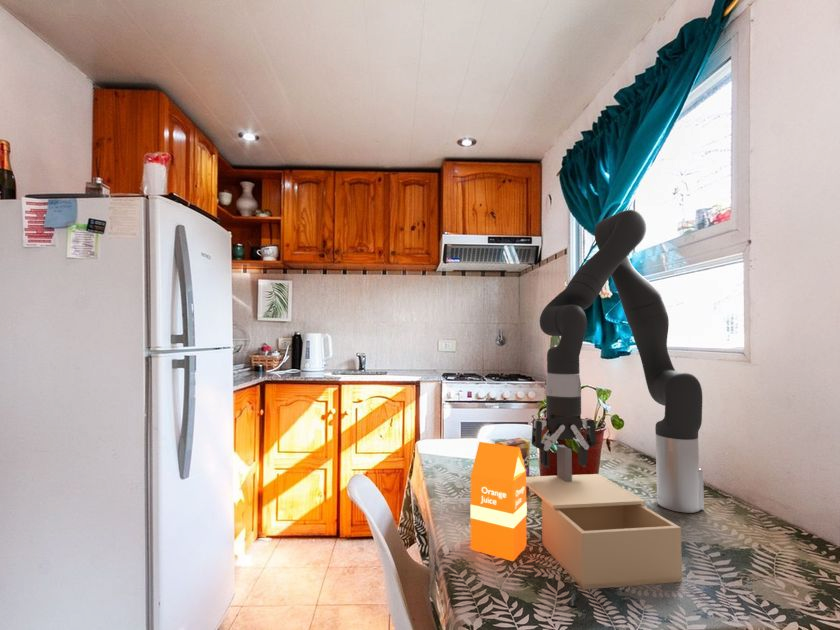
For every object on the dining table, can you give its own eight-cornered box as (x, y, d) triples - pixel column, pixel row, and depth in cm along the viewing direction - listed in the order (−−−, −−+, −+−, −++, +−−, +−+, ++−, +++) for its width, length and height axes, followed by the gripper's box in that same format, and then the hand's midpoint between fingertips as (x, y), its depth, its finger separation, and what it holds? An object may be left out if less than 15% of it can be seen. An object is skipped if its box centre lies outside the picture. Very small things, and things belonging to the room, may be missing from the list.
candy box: (505, 508, 106) (505, 444, 107) (492, 502, 110) (492, 440, 111) (530, 500, 111) (530, 440, 112) (518, 495, 115) (517, 436, 116)
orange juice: (513, 561, 81) (513, 451, 82) (470, 549, 85) (470, 445, 86) (527, 545, 87) (526, 443, 88) (486, 534, 92) (486, 438, 93)
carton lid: (598, 476, 102) (597, 443, 102) (645, 503, 85) (644, 464, 85) (519, 479, 99) (519, 445, 99) (552, 508, 82) (552, 467, 82)
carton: (625, 539, 90) (624, 494, 91) (682, 581, 74) (680, 527, 75) (542, 544, 88) (541, 498, 88) (582, 589, 72) (582, 533, 72)
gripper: (584, 391, 104) (585, 460, 103) (526, 391, 102) (527, 462, 101) (601, 395, 96) (603, 470, 95) (540, 395, 94) (540, 472, 93)
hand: (564, 466), depth 98 cm, fingers open, 8 cm apart
